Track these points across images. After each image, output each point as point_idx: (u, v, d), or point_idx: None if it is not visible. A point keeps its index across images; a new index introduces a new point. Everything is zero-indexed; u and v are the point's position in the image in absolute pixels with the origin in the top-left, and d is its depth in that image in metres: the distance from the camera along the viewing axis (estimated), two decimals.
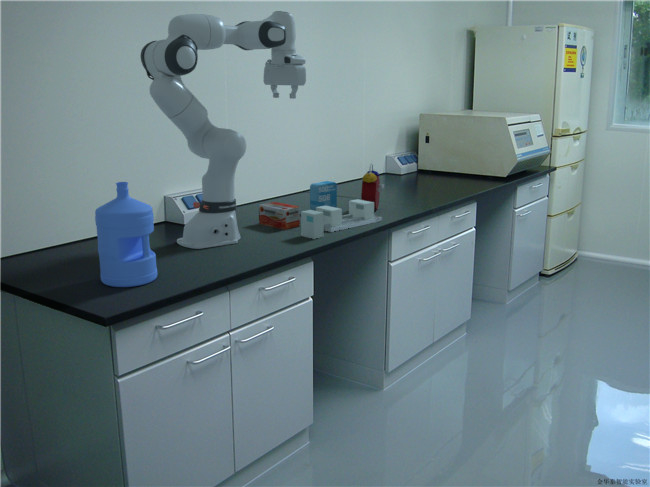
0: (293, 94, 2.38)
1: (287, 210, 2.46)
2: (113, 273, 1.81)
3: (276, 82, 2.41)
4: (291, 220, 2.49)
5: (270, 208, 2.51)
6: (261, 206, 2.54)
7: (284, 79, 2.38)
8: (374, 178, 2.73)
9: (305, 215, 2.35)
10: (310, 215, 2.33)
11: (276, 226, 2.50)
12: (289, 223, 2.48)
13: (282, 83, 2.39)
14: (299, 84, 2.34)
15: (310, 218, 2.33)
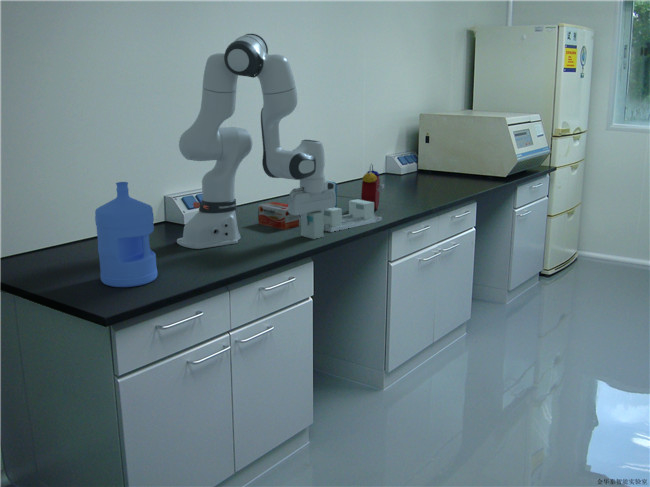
0: None
1: (286, 210, 2.46)
2: (113, 273, 1.81)
3: (311, 210, 2.32)
4: (290, 220, 2.49)
5: (269, 208, 2.51)
6: (260, 206, 2.54)
7: (321, 205, 2.35)
8: (374, 178, 2.73)
9: None
10: (310, 215, 2.33)
11: (275, 226, 2.50)
12: (288, 223, 2.48)
13: (318, 209, 2.35)
14: None
15: (310, 218, 2.33)
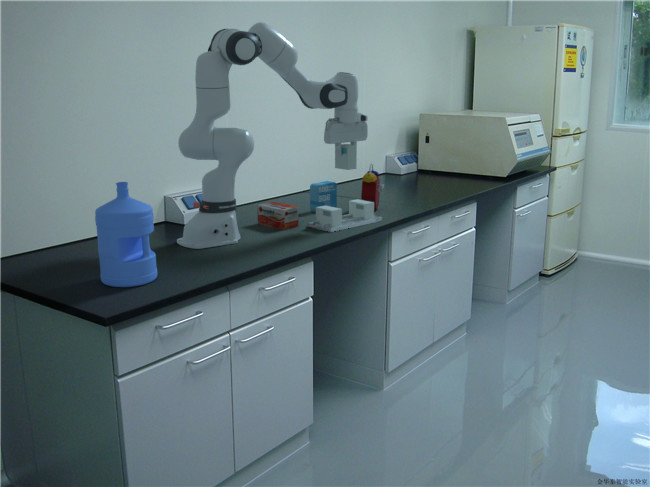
0: None
1: (286, 210, 2.46)
2: (113, 273, 1.81)
3: (345, 140, 2.46)
4: (290, 220, 2.49)
5: (269, 208, 2.51)
6: (260, 206, 2.54)
7: (354, 136, 2.49)
8: (374, 178, 2.73)
9: None
10: (344, 147, 2.47)
11: (275, 226, 2.50)
12: (287, 223, 2.48)
13: (351, 140, 2.48)
14: None
15: (344, 150, 2.47)
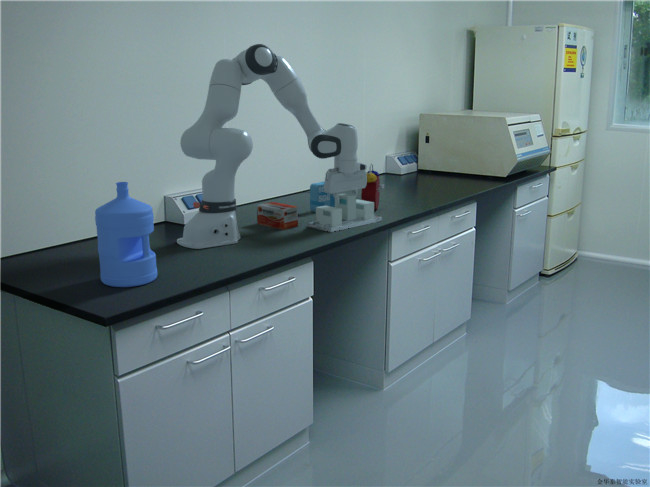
0: None
1: (285, 210, 2.46)
2: (113, 273, 1.81)
3: (344, 189, 2.51)
4: (289, 220, 2.49)
5: (268, 208, 2.51)
6: (259, 206, 2.54)
7: (353, 185, 2.54)
8: (374, 178, 2.73)
9: (339, 198, 2.54)
10: (344, 198, 2.52)
11: (274, 226, 2.50)
12: (287, 223, 2.48)
13: (351, 189, 2.53)
14: None
15: (344, 201, 2.52)
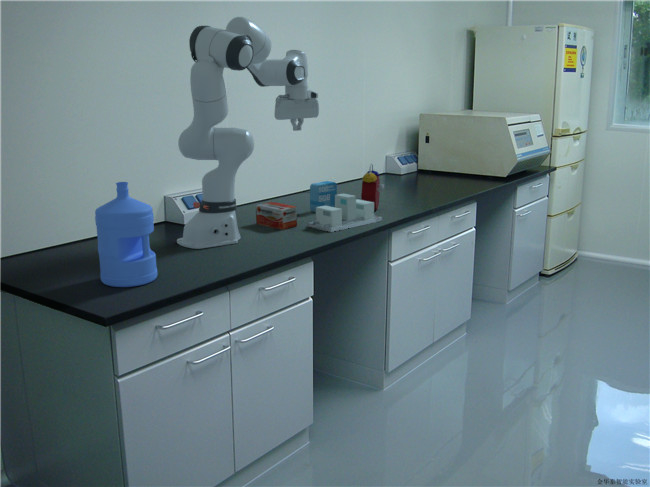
0: None
1: (284, 210, 2.46)
2: (113, 273, 1.81)
3: (295, 116, 2.53)
4: (288, 220, 2.49)
5: (267, 208, 2.51)
6: (258, 206, 2.54)
7: (304, 113, 2.56)
8: (374, 178, 2.73)
9: (339, 198, 2.54)
10: (344, 198, 2.52)
11: (273, 226, 2.50)
12: (286, 223, 2.48)
13: (302, 116, 2.56)
14: None
15: (344, 201, 2.52)
